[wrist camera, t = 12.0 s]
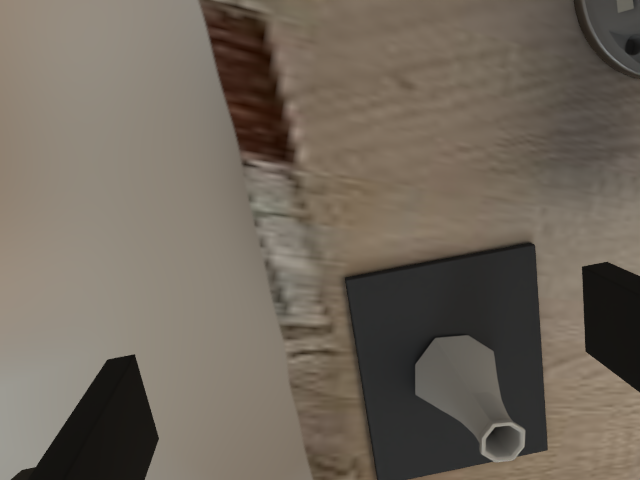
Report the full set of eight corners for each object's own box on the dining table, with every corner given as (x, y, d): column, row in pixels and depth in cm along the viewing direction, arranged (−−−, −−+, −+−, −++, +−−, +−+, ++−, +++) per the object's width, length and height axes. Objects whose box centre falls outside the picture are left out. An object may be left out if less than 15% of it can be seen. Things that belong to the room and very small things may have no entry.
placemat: (530, 242, 43) (535, 244, 42) (543, 445, 48) (548, 450, 47) (344, 277, 42) (345, 280, 42) (377, 479, 47) (379, 485, 47)
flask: (427, 324, 43) (472, 385, 34) (505, 342, 44) (570, 406, 35) (401, 399, 45) (437, 478, 35) (477, 415, 46) (532, 496, 36)
